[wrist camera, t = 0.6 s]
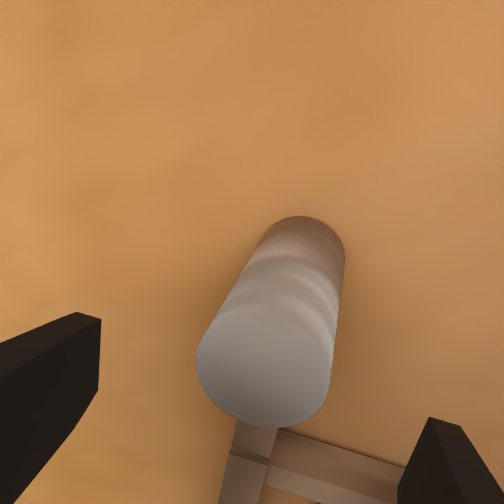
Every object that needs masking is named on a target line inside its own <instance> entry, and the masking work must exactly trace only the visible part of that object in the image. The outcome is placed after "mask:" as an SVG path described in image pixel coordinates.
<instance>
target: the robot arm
mask: <svg viewBox="0 0 504 504" xmlns="http://www.w3.org/2000/svg"><path fill="white" fill-rule="evenodd" d="M100 338H101V319H99V318H95V317H92V316H89V315H85V314H82V313H79V312H75V313H72V314H69V315H67V316H64V317H62V318H59V319H57V320H54V321H52V322H49V323H47V324H45V325H42V326H40V327H37V328H35V329H33V330H30V331H28V332H26V333H23V334H21V335H18V336H16V337H14V338H11V339H9V340H6V341H4V342H1V343H0V504H14V502H15V501H16V500H17V499H18V497H19V496H20V495H21V494H22V493H23V491H24V490H25V489H26V488H27V486H28V485H29V484H30V483H31V482H32V480H33V479H34V478H35V477H36V475H37V474H38V473H39V472H40V471H41V469H42V468H43V467H44V466H45V464H46V463H47V462H48V461H49V460H50V458H51V457H52V456H53V455H54V453H55V452H56V451H57V450H58V448H59V447H60V446H61V445H62V443H63V442H64V441H65V440H66V438H67V437H68V436H69V435H70V433H71V432H72V431H73V429H74V428H75V426H76V425H77V423H78V422H79V420H80V419H81V417H82V416H83V414H84V412H85V411H86V409H87V408H88V406H89V404H90V403H91V401H92V399H93V398H94V396H95V394H96V393H97V391H98V381H99V359H100ZM397 504H504V493H503V491H502V490H501V488H500V487H499V485H498V483H497V482H496V480H495V479H494V477H493V476H492V474H491V473H490V471H489V470H488V468H487V466H486V465H485V463H484V462H483V460H482V459H481V457H480V456H479V454H478V452H477V451H476V449H475V448H474V446H473V445H472V443H471V442H470V440H469V439H468V437H467V435H466V434H465V432H464V431H463V430H462V428H461V427H460V426H459V425H456V424H452V423H449V422H445V421H442V420H439V419H435V418H432V417H429V418H428V420H427V422H426V424H425V426H424V429H423V431H422V433H421V435H420V438H419V440H418V442H417V444H416V446H415V449H414V451H413V453H412V455H411V457H410V460H409V462H408V464H407V466H406V468H405V471H404V473H403V475H402V477H401V479H400V482H399V484H398V486H397Z"/></svg>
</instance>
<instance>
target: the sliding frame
mask: <svg viewBox="0 0 504 504" xmlns="http://www.w3.org/2000/svg"><path fill="white" fill-rule="evenodd" d="M344 263H345V254H344V249H343V246H342V243H341V241H340V239H339V237H338V236H337V235H336V233H335V232H334V231H333V230H332V229H331V228H330V227H328V226H327V225H326V224H324V223H322V222H321V221H318V220H316V219H313V218H309V217H302V216H297V217H289V218H286V219H283V220H281V221H278V222H277V223H275V224H274V225H272V226H271V227H270V228H269V229H268V230H267V231H266V233H265V234H264V236H263V237H262V239H261V241H260V242H259V244H258V246H257V248H256V249H255V251H254V253H253V254H252V256H251V258H250V259H249V261H248V263H247V264H246V266H245V268H244V269H243V271H242V273H241V274H240V276H239V278H238V279H237V281H236V283H235V284H234V286H233V288H232V289H231V291H230V293H229V295H228V296H227V298H226V300H225V301H224V303H223V305H222V306H221V308H220V310H219V311H218V313H217V315H216V316H215V318H214V320H213V321H212V323H211V325H210V326H209V328H208V330H207V331H206V333H205V335H204V336H203V338H202V340H201V342H200V344H199V346H198V350H197V354H196V370H197V374H198V378H199V380H200V383H201V385H202V387H203V389H204V391H205V392H206V393H207V395H208V396H209V398H210V399H211V400H212V401H213V402H214V403H215V404H216V405H217V406H218V407H219V408H220V409H222V410H223V411H224V412H225V413H227V414H229V415H230V416H232V417H233V418H235V419H237V425H236V429H235V434H234V438H233V443H232V447H231V450H230V453H229V456H228V461H227V466H226V470H225V475H224V479H223V484H222V488H221V493H220V498H219V502H218V504H258V500H259V497H260V493H261V489H262V486H263V484H265V485H268V486H270V487H273V488H276V489H279V490H282V491H285V492H288V493H291V494H294V495H297V496H300V497H303V498H306V499H309V500H312V501H315V502H318V503H321V504H397V486H398V484H399V482H400V479H401V477H402V475H403V473H404V471H405V468H402V467H398V466H395V465H392V464H389V463H386V462H383V461H379V460H376V459H373V458H370V457H367V456H364V455H361V454H357V453H354V452H351V451H348V450H345V449H342V448H338V447H335V446H332V445H329V444H326V443H323V442H319V441H316V440H313V439H310V438H307V437H304V436H301V435H297V434H294V433H291V432H288V431H285V430H282V429H278V428H283V427H289V426H293V425H296V424H299V423H301V422H303V421H305V420H307V419H308V418H310V417H311V416H313V415H314V414H315V413H316V412H317V411H318V410H319V409H320V408H321V406H322V405H323V403H324V402H325V400H326V397H327V395H328V391H329V386H330V378H331V370H332V362H333V353H334V345H335V337H336V329H337V321H338V312H339V304H340V296H341V288H342V280H343V272H344Z"/></svg>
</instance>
